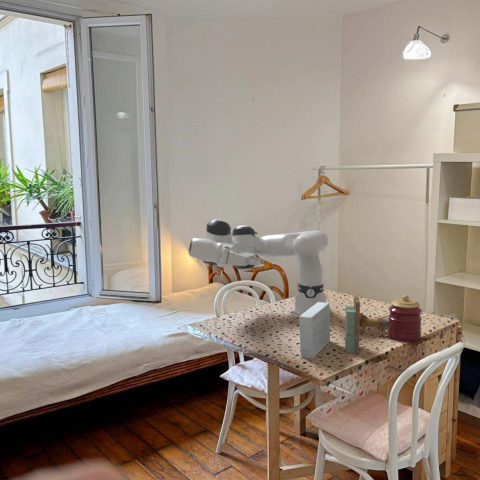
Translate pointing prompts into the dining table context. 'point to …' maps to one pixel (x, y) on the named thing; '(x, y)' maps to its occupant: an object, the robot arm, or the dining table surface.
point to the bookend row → (352, 327)
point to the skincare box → (314, 329)
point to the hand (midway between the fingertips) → (261, 262)
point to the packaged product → (384, 321)
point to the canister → (405, 320)
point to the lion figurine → (371, 324)
